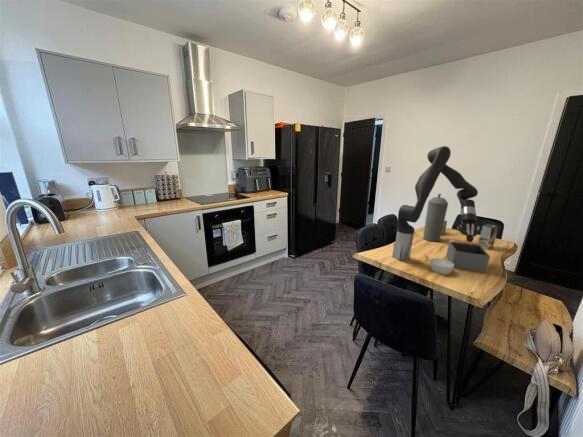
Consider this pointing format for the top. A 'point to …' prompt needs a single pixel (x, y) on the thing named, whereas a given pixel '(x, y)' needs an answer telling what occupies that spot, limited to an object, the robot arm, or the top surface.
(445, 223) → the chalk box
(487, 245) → the lid
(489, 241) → the coffee box
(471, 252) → the box
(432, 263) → the ramekin
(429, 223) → the canister
